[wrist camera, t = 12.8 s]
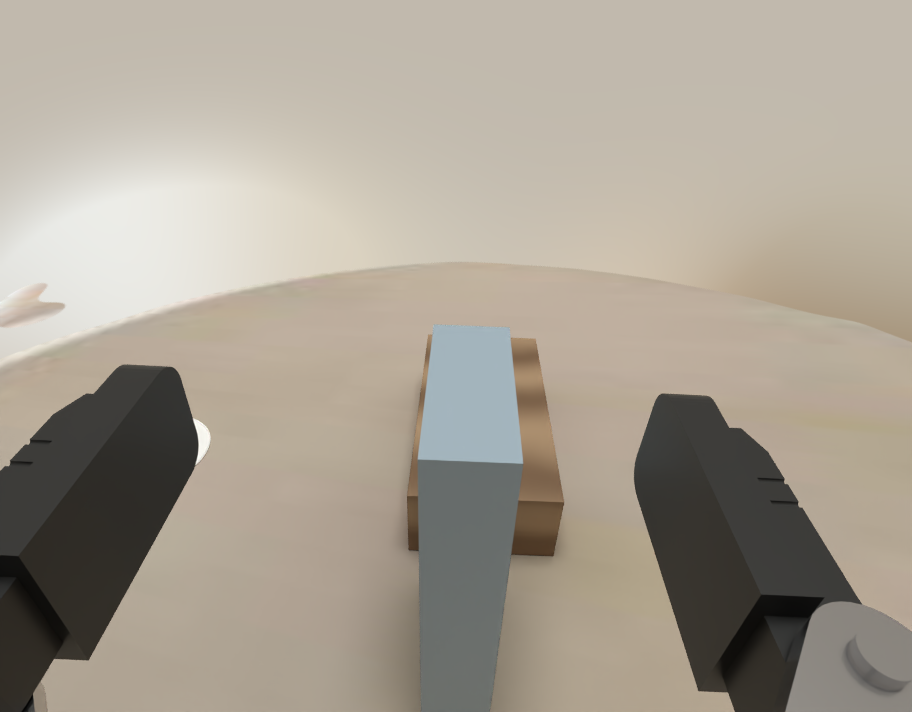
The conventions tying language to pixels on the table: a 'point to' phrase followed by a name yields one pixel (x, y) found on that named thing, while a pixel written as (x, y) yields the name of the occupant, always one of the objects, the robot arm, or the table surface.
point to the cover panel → (466, 513)
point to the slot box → (540, 465)
